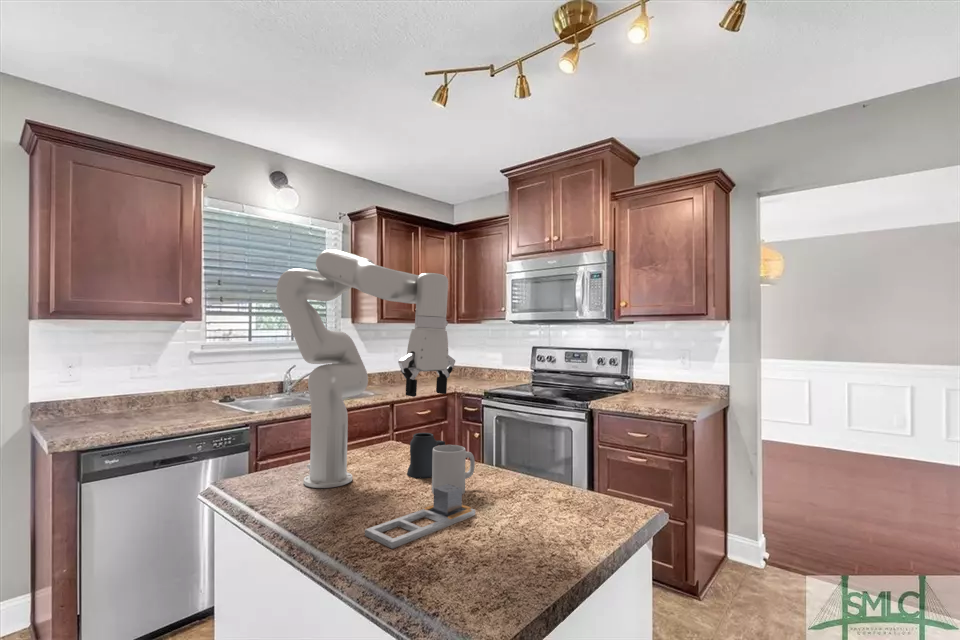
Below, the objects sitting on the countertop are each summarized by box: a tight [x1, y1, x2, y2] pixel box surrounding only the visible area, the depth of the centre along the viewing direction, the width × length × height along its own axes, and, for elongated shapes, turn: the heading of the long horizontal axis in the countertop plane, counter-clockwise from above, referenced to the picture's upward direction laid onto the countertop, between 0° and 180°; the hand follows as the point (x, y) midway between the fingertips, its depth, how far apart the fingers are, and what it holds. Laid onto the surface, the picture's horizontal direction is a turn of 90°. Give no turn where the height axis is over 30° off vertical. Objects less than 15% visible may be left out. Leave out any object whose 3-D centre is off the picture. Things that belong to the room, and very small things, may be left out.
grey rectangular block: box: [432, 484, 463, 517], centre depth 105 cm, size 4×4×6 cm
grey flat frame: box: [364, 504, 476, 550], centre depth 99 cm, size 9×23×1 cm, turn 139°
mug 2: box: [406, 432, 446, 480], centre depth 138 cm, size 12×9×11 cm
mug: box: [431, 444, 476, 495], centre depth 122 cm, size 12×8×11 cm
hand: (426, 394), depth 115 cm, fingers open, 9 cm apart
